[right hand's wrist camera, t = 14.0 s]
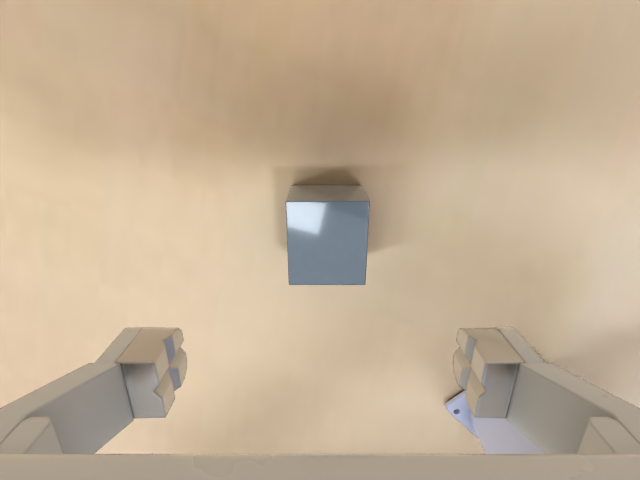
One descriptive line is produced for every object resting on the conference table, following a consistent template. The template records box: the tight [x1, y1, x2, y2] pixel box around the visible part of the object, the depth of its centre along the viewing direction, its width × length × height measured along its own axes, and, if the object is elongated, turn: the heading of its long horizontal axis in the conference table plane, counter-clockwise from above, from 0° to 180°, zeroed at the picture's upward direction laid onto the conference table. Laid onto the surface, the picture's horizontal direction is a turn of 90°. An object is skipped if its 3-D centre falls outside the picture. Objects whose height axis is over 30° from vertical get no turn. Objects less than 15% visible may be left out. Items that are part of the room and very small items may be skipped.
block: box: [286, 185, 369, 285], centre depth 22 cm, size 5×5×4 cm
